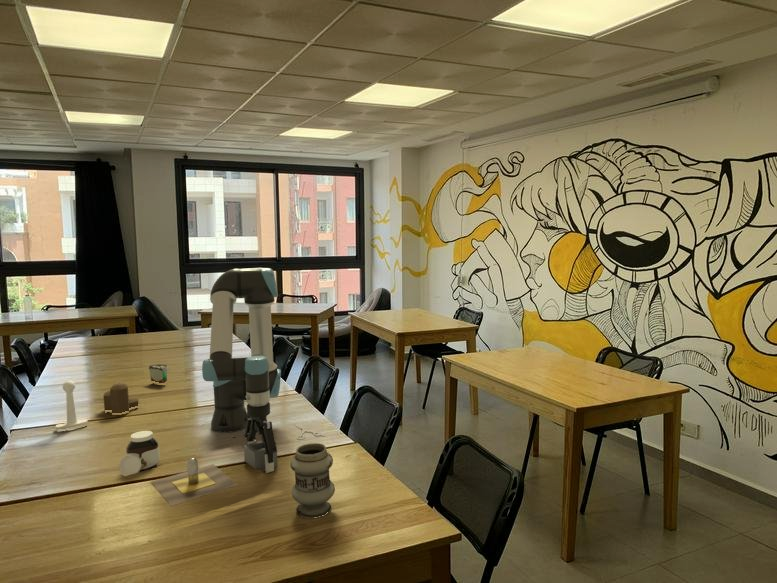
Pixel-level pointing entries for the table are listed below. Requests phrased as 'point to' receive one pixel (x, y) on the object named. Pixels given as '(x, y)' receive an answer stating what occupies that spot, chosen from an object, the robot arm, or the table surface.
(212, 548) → the table surface
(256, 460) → the collar
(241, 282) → the robot arm
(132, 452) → the spread jar
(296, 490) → the apothecary jar
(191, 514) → the table surface
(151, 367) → the food container
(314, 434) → the scissors
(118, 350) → the table surface
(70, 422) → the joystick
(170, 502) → the base plate
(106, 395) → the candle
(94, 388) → the table surface
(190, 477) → the steel post
